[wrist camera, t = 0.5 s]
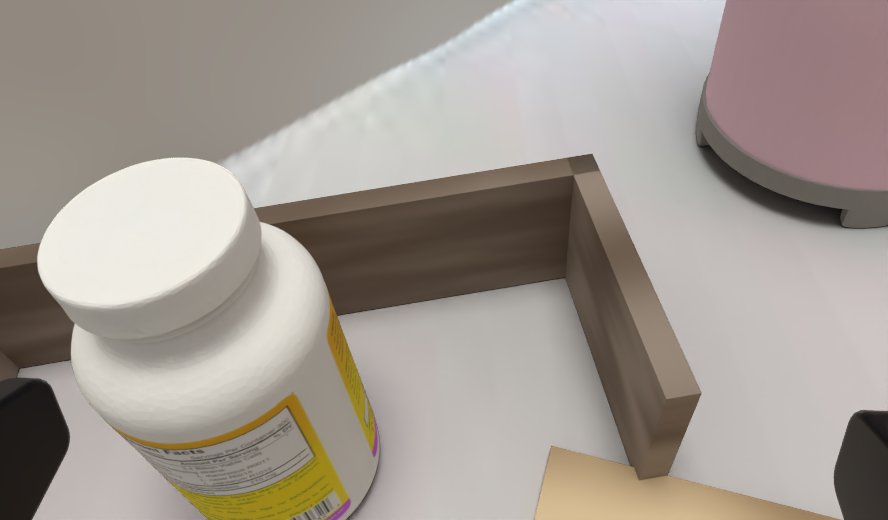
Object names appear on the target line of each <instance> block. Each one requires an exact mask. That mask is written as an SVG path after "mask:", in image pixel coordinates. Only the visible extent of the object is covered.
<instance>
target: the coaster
mask: <svg viewBox="0 0 888 520" xmlns="http://www.w3.org/2000/svg"><path fill="white" fill-rule="evenodd" d="M535 520H840V519H836V518H832V517H828V516H824V515H820V514H816V513H813V512H809V511H805V510H801V509H797V508H793V507H789V506H785V505H781V504H777V503H773V502H769V501H766V500H762V499H758V498H754V497H750V496H746V495H742V494H738V493H734V492H730V491H726V490H722V489H718V488H715V487H711V486H707V485H703V484H699V483H695V482H691V481H687V480H683V479H679V478H675V477H671V476H662V477H656V478H650V479H645V480H639V479H638V476H637V474H636V471H635V468H634V467H632V466H628V465H624V464H620V463H617V462H613V461H609V460H605V459H601V458H597V457H593V456H589V455H585V454H581V453H577V452H573V451H569V450H566V449H562V448H558V447H554V446H551V450H550V454H549V459H548V463H547V467H546V472H545V476H544V480H543V485H542V489H541V493H540V498H539V502H538V507H537V511H536V515H535Z"/></svg>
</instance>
